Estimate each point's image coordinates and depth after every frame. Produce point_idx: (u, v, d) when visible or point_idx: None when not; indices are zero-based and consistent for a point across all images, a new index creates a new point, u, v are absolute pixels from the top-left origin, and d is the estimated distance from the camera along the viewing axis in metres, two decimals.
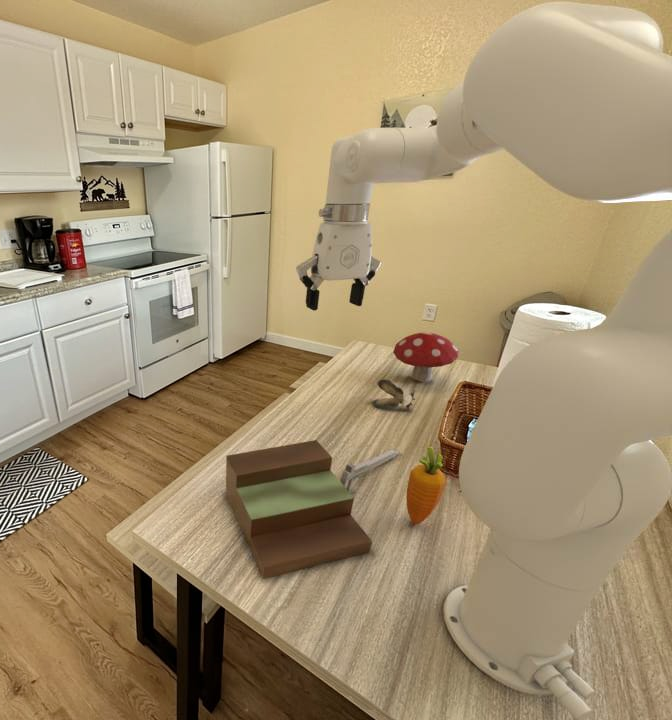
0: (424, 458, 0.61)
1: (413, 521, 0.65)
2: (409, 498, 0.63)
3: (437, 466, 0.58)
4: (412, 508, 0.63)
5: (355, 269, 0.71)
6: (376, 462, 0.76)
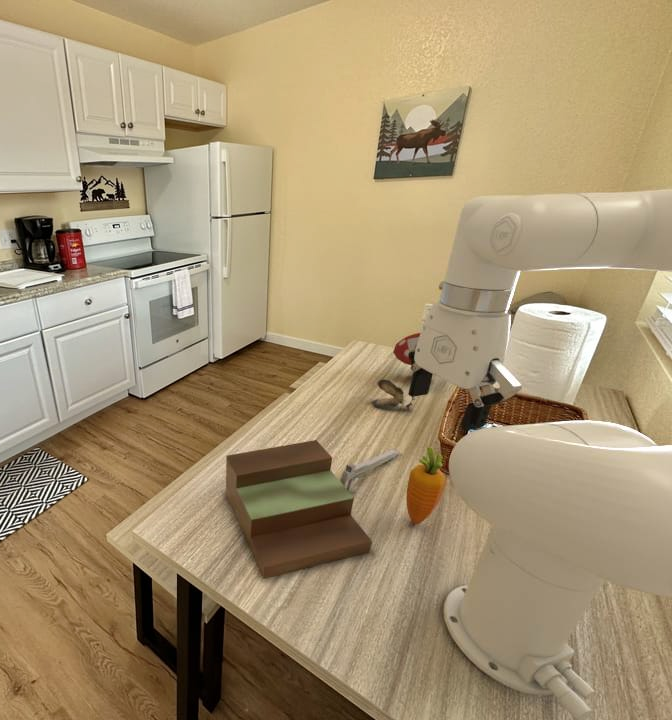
0: (424, 458, 0.61)
1: (413, 521, 0.65)
2: (409, 498, 0.63)
3: (437, 466, 0.58)
4: (412, 508, 0.63)
5: (448, 370, 0.52)
6: (376, 462, 0.76)
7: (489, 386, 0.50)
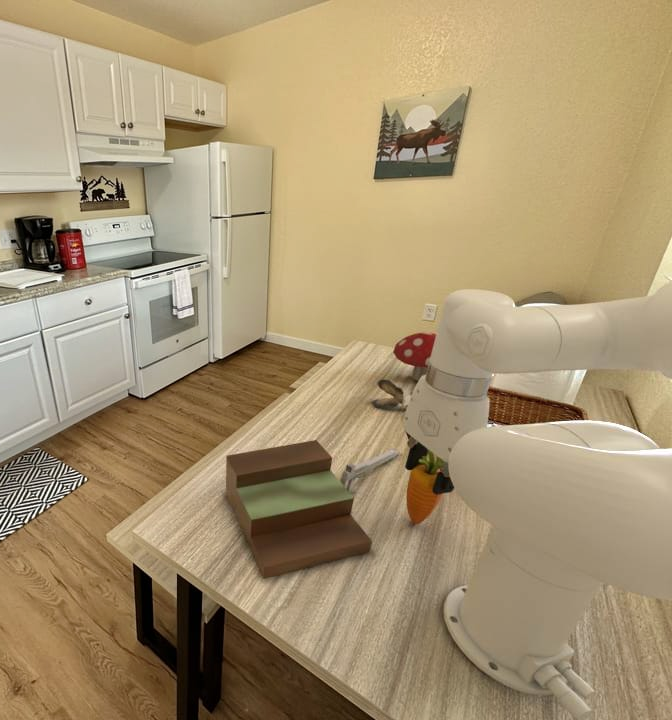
0: (424, 458, 0.61)
1: (413, 521, 0.65)
2: (409, 498, 0.63)
3: (437, 466, 0.58)
4: (412, 508, 0.63)
5: (433, 443, 0.56)
6: (376, 462, 0.76)
7: None
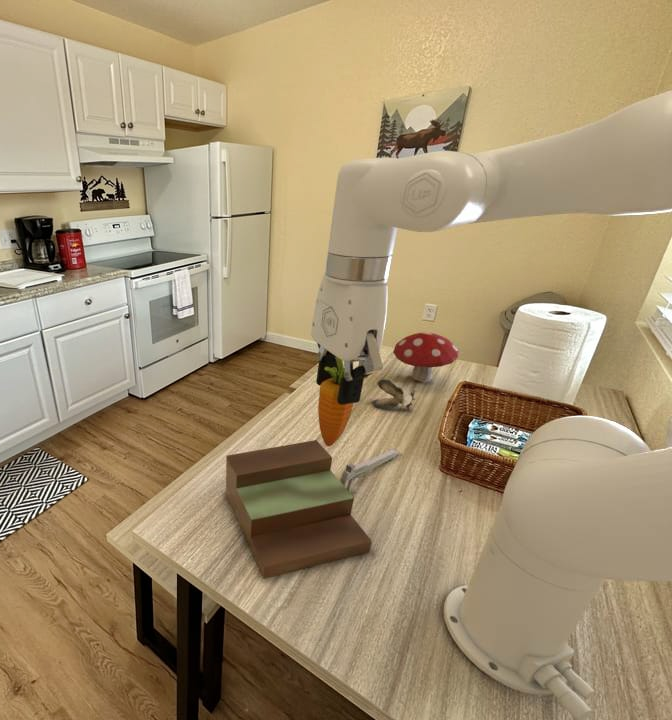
0: (333, 369, 0.56)
1: (325, 442, 0.59)
2: (319, 415, 0.58)
3: (342, 372, 0.53)
4: (322, 425, 0.58)
5: (333, 343, 0.51)
6: (376, 462, 0.76)
7: (364, 362, 0.51)
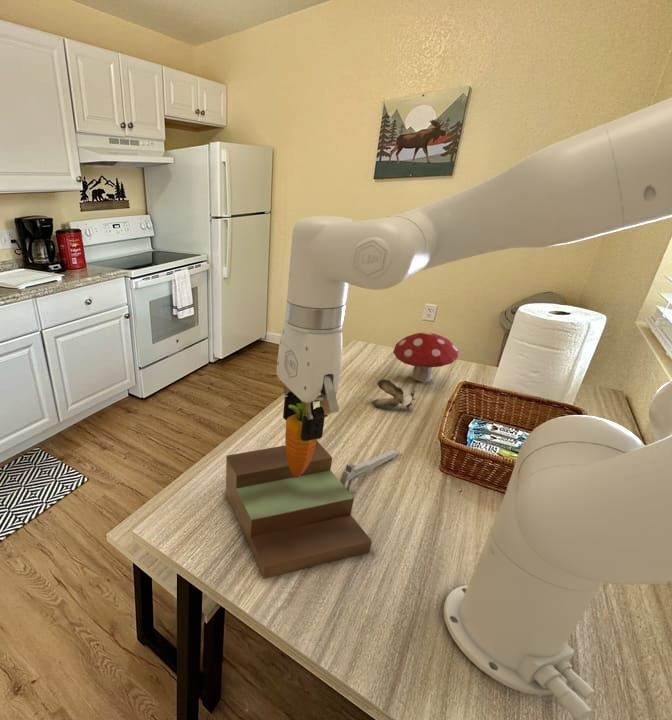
0: (298, 405, 0.59)
1: (293, 474, 0.62)
2: (286, 448, 0.60)
3: (304, 411, 0.55)
4: (288, 458, 0.60)
5: (294, 384, 0.53)
6: (376, 462, 0.76)
7: (324, 402, 0.53)
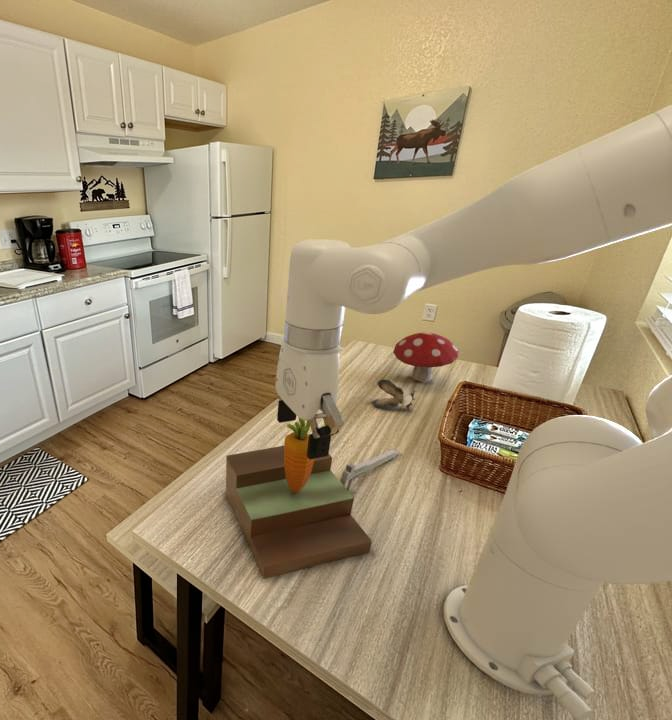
0: (296, 424, 0.60)
1: (291, 490, 0.63)
2: None
3: (302, 430, 0.57)
4: (287, 475, 0.62)
5: (293, 401, 0.54)
6: (376, 462, 0.76)
7: (327, 418, 0.53)
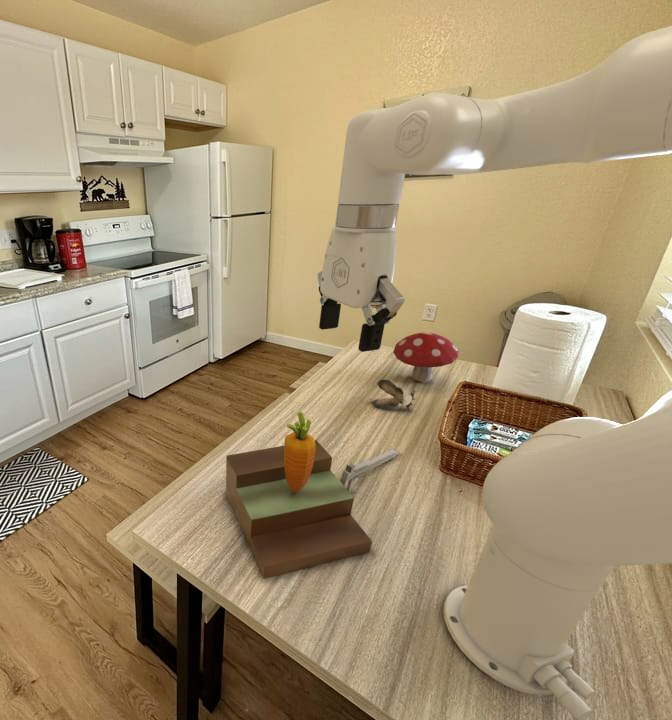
0: (296, 424, 0.60)
1: (291, 490, 0.63)
2: None
3: (302, 430, 0.57)
4: (287, 475, 0.62)
5: (344, 292, 0.53)
6: (376, 462, 0.76)
7: (381, 306, 0.52)
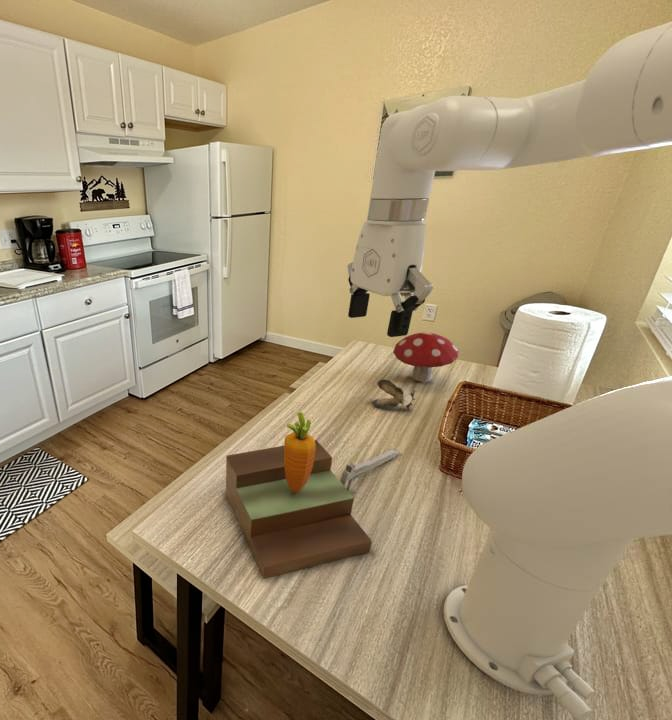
0: (296, 424, 0.60)
1: (291, 490, 0.63)
2: None
3: (302, 430, 0.57)
4: (287, 475, 0.62)
5: (375, 281, 0.57)
6: (376, 462, 0.76)
7: (410, 294, 0.55)
